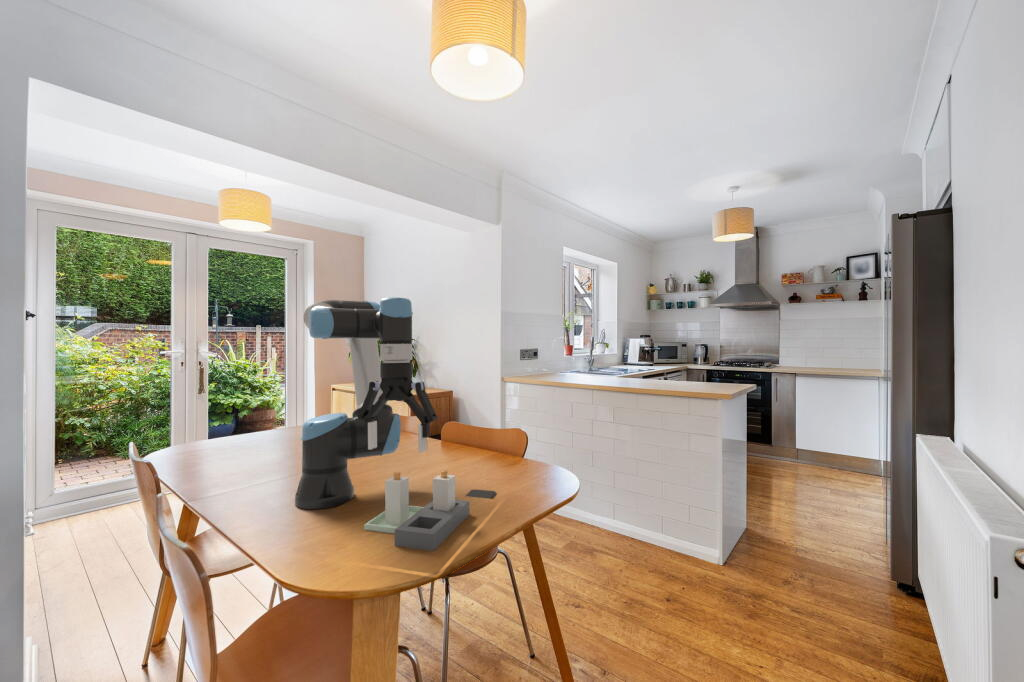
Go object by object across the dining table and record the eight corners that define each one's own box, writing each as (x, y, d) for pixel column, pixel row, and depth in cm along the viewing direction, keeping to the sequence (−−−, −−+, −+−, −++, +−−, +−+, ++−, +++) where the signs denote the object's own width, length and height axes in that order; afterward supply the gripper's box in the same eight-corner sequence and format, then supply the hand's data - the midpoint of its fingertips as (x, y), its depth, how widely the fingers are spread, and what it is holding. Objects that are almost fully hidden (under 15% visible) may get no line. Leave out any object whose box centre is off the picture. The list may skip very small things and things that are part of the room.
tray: (364, 532, 101) (364, 524, 101) (395, 511, 114) (394, 504, 114) (400, 536, 98) (399, 528, 98) (427, 514, 111) (427, 507, 111)
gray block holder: (394, 548, 93) (394, 489, 93) (436, 513, 112) (436, 464, 112) (433, 553, 90) (433, 492, 90) (469, 516, 109) (469, 466, 109)
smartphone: (480, 515, 111) (497, 494, 127) (479, 511, 111) (497, 490, 127) (450, 512, 113) (471, 491, 129) (450, 509, 113) (471, 488, 129)
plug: (385, 522, 105) (385, 474, 105) (394, 516, 108) (394, 469, 108) (400, 524, 103) (400, 475, 104) (408, 518, 107) (408, 471, 107)
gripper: (342, 362, 106) (343, 450, 106) (436, 362, 99) (437, 456, 99) (361, 361, 113) (361, 443, 113) (450, 361, 106) (451, 448, 106)
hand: (397, 449), depth 106 cm, fingers open, 13 cm apart
